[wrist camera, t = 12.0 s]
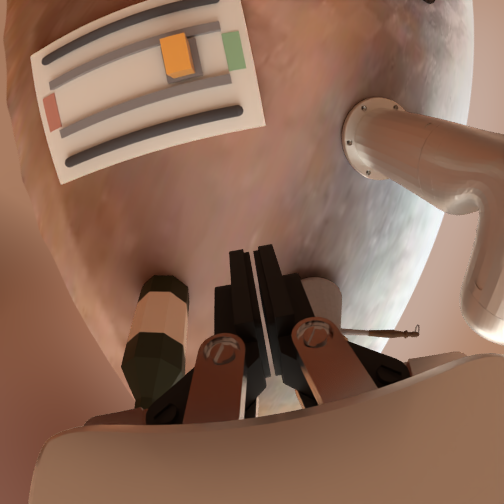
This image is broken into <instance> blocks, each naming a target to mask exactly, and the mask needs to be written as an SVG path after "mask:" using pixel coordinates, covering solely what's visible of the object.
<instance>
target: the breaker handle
mask: <svg viewBox="0 0 504 504" xmlns="http://www.w3.org/2000/svg"><path fill="white" fill-rule="evenodd" d="M160 44H161V47H160V48H161V53H162V58H163V63H164V68H165V73H166V77H167V82H168V84H171V83H175V82H179V81H183V80H187V79H191V78H195V77H199V76H203V71H202V67H201V62H200V57H199V52H198V47H197V43H196V38H192V39H187V38H186V35H185V33H180V34H176V35H172V36H168V37H165V38H162V39H160Z"/></svg>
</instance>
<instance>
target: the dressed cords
mask: <svg viewBox="0 0 504 504" xmlns="http://www.w3.org/2000/svg"><path fill="white" fill-rule="evenodd" d="M219 1H220V0H180V1H176V2H172V3H169V4H165V5H161V6H158V7H155V8H151V9H148V10H145V11H142V12H139V13H136V14H133V15H130V16H128V17H125V18H122V19H120V20H117V21H115V22H112V23H110V24H107V25H105V26H103V27H100V28H98V29H96V30H94V31H91V32H89V33H87V34H85V35H83V36H81V37H79V38H77V39H75V40H73V41H71V42H69V43H67V44H66V45H64V46H62V47H60V48H58V49H56V50H55V51H53V52H51V53H50V54H48V55H46V56H45V57H43V59H42V61H41V62H42V65H48V64H50V63H52V62H53V61H55V60H57V59H59V58H60V57H62V56H64V55H66V54H68V53H70V52H72V51H74V50H76V49H78V48H80V47H82V46H84V45H86V44H88V43H90V42H92V41H94V40H97V39H99V38H101V37H103V36H106V35H108V34H111V33H113V32H116V31H118V30H121V29H123V28H126V27H129V26H131V25H134V24H137V23H140V22H143V21H146V20H149V19H152V18H156V17H159V16H162V15H166V14H170V13H173V12H177V11H181V10H185V9H190V8H194V7H199V6H204V5H209V4H215V3H217V2H219ZM242 114H243V108H242V106H240V105H234V106H229V107H224V108H219V109H214V110H210V111H205V112H201V113H197V114H193V115H189V116H185V117H181V118H177V119H174V120H170V121H167V122H163V123H160V124H156V125H153V126H150V127H147V128H143V129H140V130H137V131H134V132H131V133H128V134H126V135H123V136H120V137H117V138H114V139H112V140H109V141H106V142H104V143H101V144H99V145H96V146H94V147H91V148H89V149H86V150H84V151H81V152H79V153H77V154H74V155H72V156H70V157H68V158H67V159H66V160H65V165H66V167H69V168H70V167H73V166H75V165H77V164H80V163H82V162H85V161H87V160H90V159H92V158H95V157H97V156H100V155H102V154H105V153H108V152H111V151H113V150H116V149H119V148H122V147H125V146H128V145H131V144H134V143H137V142H140V141H143V140H146V139H149V138H153V137H156V136H159V135H163V134H166V133H170V132H173V131H177V130H181V129H184V128H188V127H192V126H196V125H201V124H205V123H209V122H214V121H218V120H223V119H228V118H233V117H238V116H241V115H242Z"/></svg>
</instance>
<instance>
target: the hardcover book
mask: <svg viewBox="0 0 504 504" xmlns="http://www.w3.org/2000/svg"><path fill="white" fill-rule="evenodd" d="M424 1H425V2H427V3H429V4H431V3H434V2H435V0H424Z"/></svg>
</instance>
